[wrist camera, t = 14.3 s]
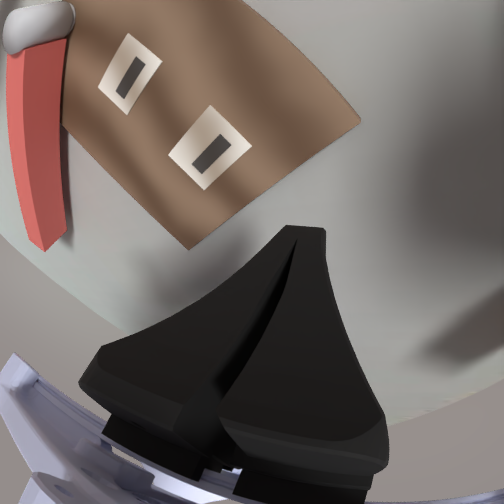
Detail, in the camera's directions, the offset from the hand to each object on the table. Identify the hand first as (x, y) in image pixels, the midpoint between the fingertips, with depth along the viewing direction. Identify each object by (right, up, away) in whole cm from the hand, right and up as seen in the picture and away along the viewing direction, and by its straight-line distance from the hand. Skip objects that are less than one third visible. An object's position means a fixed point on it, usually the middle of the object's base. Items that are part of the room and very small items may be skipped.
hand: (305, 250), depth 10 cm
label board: (-9, +12, +7) cm, 16 cm away
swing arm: (-20, +11, +10) cm, 25 cm away
